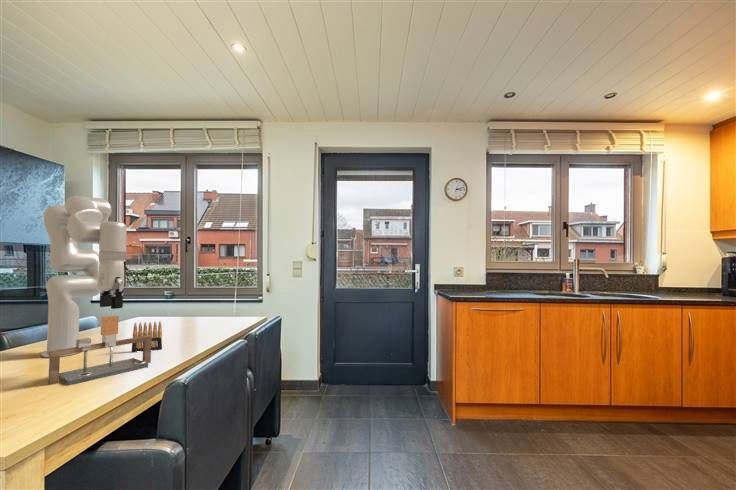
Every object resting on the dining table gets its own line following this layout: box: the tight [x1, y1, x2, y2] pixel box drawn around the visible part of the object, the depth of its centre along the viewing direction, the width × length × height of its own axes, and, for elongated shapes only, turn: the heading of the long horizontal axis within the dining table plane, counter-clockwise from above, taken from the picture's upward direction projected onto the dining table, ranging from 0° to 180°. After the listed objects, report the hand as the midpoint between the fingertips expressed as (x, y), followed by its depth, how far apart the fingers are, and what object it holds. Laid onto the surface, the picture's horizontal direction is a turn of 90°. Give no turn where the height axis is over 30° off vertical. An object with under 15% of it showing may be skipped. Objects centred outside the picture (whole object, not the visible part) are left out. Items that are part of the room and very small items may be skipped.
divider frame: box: [48, 334, 153, 385], centre depth 116 cm, size 4×28×12 cm, turn 145°
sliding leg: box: [100, 315, 120, 367], centre depth 117 cm, size 5×4×16 cm
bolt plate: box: [59, 357, 149, 386], centre depth 116 cm, size 12×23×1 cm, turn 145°
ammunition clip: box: [131, 320, 163, 353], centre depth 144 cm, size 11×2×12 cm, turn 116°
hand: (111, 307), depth 118 cm, fingers open, 9 cm apart
